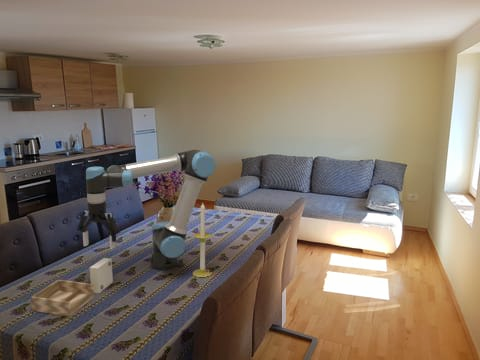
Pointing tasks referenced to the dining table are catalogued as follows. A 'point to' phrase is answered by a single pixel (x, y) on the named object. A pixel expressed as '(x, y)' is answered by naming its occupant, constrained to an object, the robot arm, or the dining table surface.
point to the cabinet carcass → (62, 297)
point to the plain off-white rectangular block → (101, 274)
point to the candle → (202, 247)
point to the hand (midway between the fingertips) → (99, 246)
